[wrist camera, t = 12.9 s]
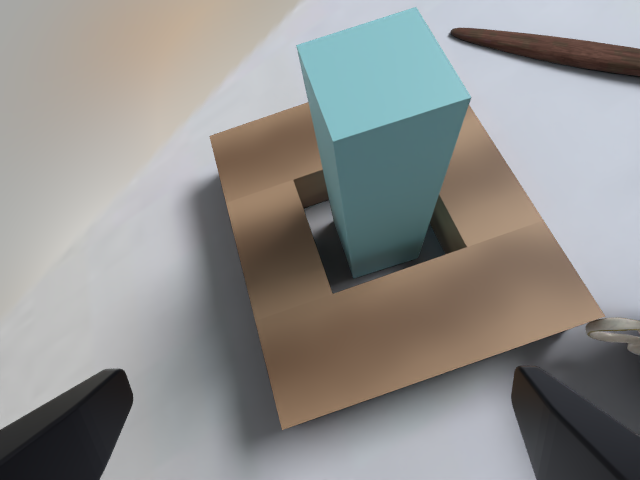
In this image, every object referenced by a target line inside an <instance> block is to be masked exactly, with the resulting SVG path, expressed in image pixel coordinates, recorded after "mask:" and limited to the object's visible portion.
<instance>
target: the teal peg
mask: <svg viewBox="0 0 640 480" xmlns="http://www.w3.org/2000/svg"><path fill="white" fill-rule="evenodd" d="M296 46H297V50H298V55H299V60H300V65H301V69H302V74H303V79H304V83H305V88H306V93H307V98H308V102H309V107H310V112H311V116H312V121H313V126H314V131H315V135H316V140H317V145H318V149H319V154H320V159H321V164H322V168H323V173H324V178H325V182H326V187H327V192H328V197H329V201H330V206H331V211H332V215H333V220H334V223H335V226H336V229H337V232H338V235H339V238H340V241H341V244H342V247H343V250H344V252H345V255H346V258H347V261H348V264H349V267H350V270H351V273H352V276H353V279H354V278H357V277H360V276H363V275H366V274H369V273H372V272H376V271H379V270H382V269H385V268H388V267H391V266H394V265H398V264H401V263H404V262H407V261H410V260H413V259H416V258H418V257H419V253H420V250H421V247H422V244H423V241H424V238H425V235H426V232H427V229H428V226H429V223H430V220H431V217H432V214H433V211H434V208H435V205H436V202H437V199H438V196H439V193H440V190H441V187H442V184H443V181H444V178H445V175H446V172H447V169H448V166H449V163H450V160H451V157H452V154H453V151H454V148H455V145H456V142H457V139H458V136H459V133H460V130H461V127H462V124H463V121H464V118H465V115H466V112H467V109H468V106H469V102H470V99H471V96H470V95H469V93H468V91H467V90H466V88H465V86H464V85H463V83H462V82H461V80H460V78H459V77H458V75H457V73H456V72H455V70H454V68H453V67H452V65H451V63H450V62H449V60H448V59H447V57H446V55H445V54H444V52H443V50H442V49H441V47H440V45H439V44H438V42H437V41H436V39H435V37H434V36H433V34H432V32H431V31H430V29H429V27H428V26H427V24H426V22H425V21H424V19H423V18H422V16H421V14H420V13H419V11H418V9H417V8H416V7H415V8H411V9H408V10H405V11H402V12H399V13H396V14H393V15H390V16H386V17H383V18H380V19H377V20H374V21H371V22H368V23H365V24H361V25H358V26H355V27H352V28H349V29H346V30H343V31H340V32H337V33H333V34H330V35H327V36H324V37H321V38H318V39H315V40H312V41H308V42H305V43H302V44H299V45H296Z"/></svg>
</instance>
